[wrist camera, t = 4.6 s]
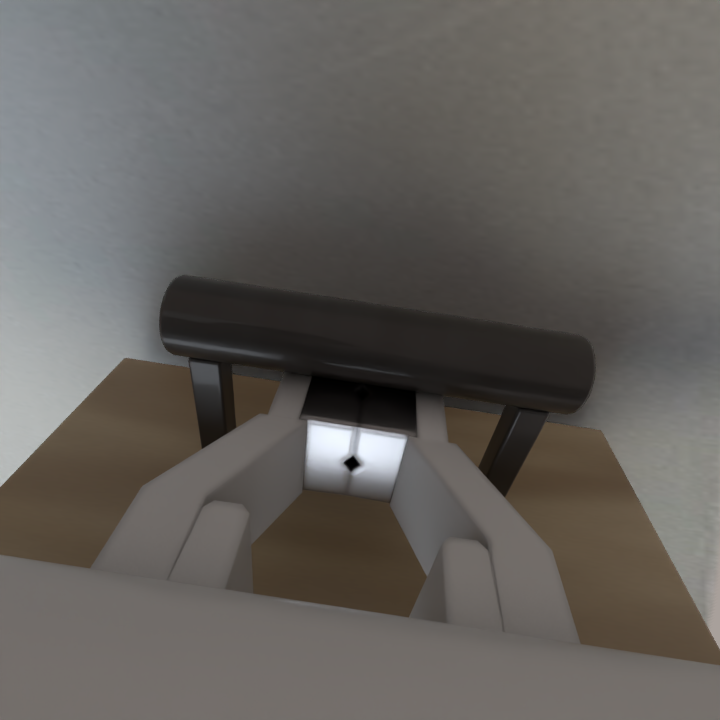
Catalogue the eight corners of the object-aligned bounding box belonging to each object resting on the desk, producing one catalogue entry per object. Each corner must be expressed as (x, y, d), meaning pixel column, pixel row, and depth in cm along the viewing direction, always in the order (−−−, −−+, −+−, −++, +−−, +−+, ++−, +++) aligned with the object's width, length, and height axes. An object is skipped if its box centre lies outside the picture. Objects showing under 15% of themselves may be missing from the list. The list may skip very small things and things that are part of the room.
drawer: (81, 192, 10) (-363, 365, 4) (696, 286, 10) (1096, 587, 4) (185, 589, 21) (105, 778, 15) (468, 632, 21) (490, 837, 15)
